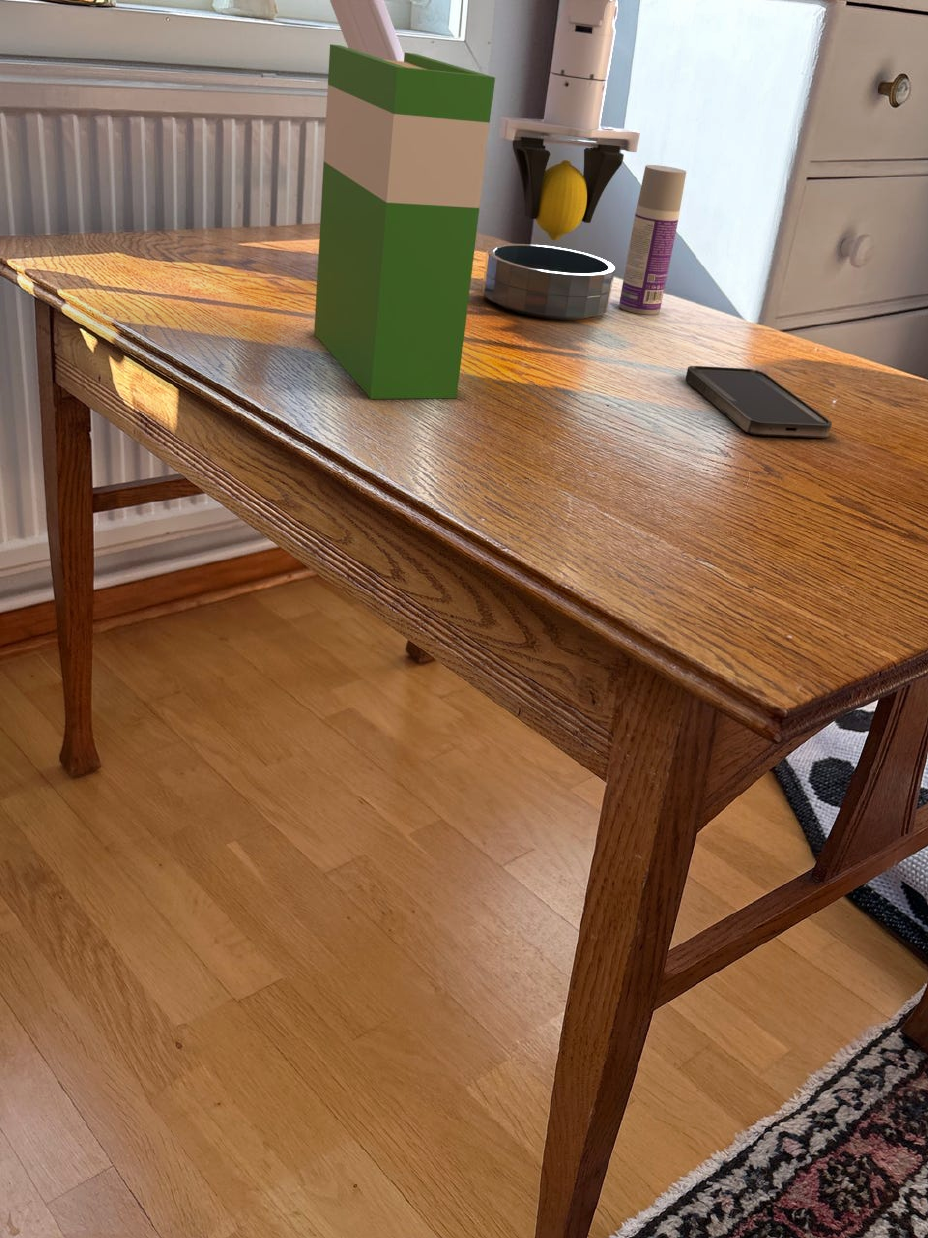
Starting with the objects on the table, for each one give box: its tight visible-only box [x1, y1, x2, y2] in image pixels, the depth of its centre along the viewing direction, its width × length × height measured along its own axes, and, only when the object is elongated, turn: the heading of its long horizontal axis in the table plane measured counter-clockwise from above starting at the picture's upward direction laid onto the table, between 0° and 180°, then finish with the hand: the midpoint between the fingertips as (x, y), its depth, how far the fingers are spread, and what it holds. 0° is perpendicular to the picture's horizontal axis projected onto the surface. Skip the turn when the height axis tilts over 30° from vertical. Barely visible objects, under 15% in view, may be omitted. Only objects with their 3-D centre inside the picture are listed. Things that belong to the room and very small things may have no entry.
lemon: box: [535, 159, 587, 241], centre depth 118 cm, size 6×6×8 cm
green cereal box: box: [313, 43, 496, 400], centre depth 93 cm, size 18×7×24 cm, turn 21°
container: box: [618, 164, 687, 316], centre depth 124 cm, size 5×5×15 cm
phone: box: [684, 365, 833, 439], centre depth 100 cm, size 8×1×15 cm
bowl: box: [481, 243, 616, 321], centre depth 123 cm, size 14×14×5 cm
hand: (557, 218), depth 119 cm, fingers closed on lemon, 5 cm apart
